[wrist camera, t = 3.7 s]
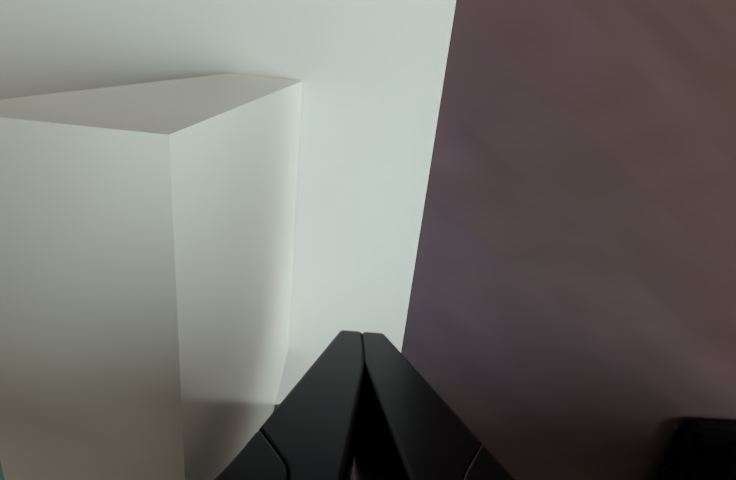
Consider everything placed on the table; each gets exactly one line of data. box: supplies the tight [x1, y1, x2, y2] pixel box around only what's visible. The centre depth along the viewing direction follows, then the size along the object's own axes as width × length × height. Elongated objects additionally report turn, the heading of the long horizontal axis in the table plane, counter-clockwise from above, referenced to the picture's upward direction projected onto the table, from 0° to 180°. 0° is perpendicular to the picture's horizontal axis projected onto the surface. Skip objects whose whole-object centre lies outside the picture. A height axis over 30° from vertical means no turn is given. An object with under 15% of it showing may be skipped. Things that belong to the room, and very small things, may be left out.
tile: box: [0, 73, 303, 480], centre depth 10 cm, size 2×9×10 cm, turn 174°
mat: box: [0, 0, 456, 404], centre depth 15 cm, size 18×14×1 cm
